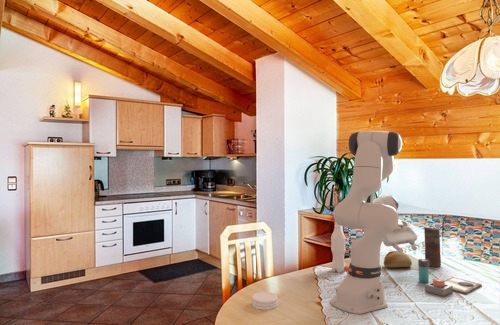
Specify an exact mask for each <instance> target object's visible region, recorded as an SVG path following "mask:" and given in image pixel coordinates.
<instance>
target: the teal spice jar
mask: <svg viewBox="0 0 500 325" xmlns="http://www.w3.org/2000/svg"><path fill="white" fill-rule="evenodd" d="M417 263H418V264H417V265H418V283H419V284H424V285H425V284H428V283H430V282H429V280H430V279H429V276H430V275H429V267H430V266H429V261H428V260H426V259H425V258H418V262H417Z"/></svg>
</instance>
